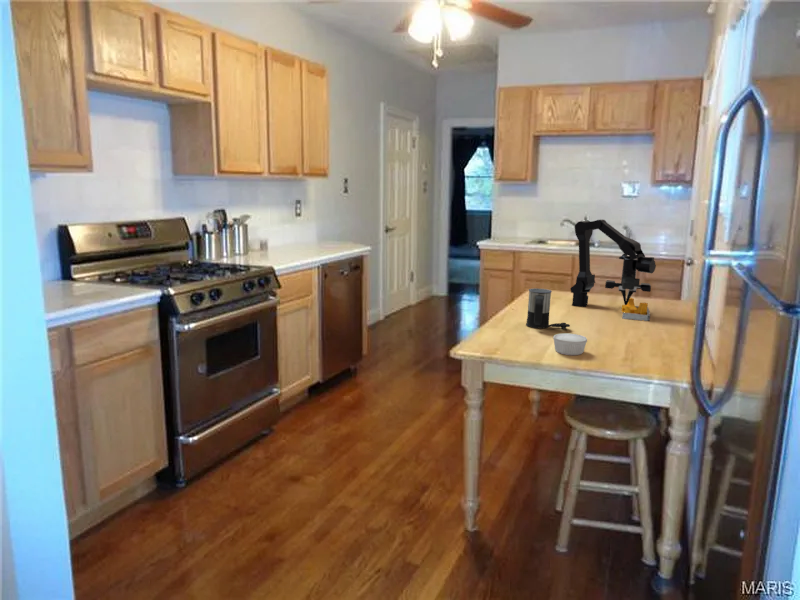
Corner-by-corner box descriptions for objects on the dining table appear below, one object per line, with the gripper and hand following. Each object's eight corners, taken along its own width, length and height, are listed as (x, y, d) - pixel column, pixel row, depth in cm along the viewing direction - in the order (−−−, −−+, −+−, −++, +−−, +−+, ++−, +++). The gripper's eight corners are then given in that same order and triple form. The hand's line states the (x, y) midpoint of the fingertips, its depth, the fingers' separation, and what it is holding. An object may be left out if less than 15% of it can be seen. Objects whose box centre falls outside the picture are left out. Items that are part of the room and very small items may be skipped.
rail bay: (622, 318, 257) (622, 312, 256) (621, 310, 273) (622, 304, 273) (649, 321, 253) (650, 315, 252) (647, 312, 270) (648, 307, 269)
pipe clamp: (621, 311, 270) (622, 298, 269) (629, 311, 271) (631, 297, 270) (637, 318, 259) (639, 303, 257) (646, 317, 260) (647, 303, 258)
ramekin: (548, 347, 211) (549, 332, 210) (578, 347, 212) (579, 332, 211) (558, 356, 200) (559, 341, 199) (590, 356, 201) (592, 341, 200)
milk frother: (523, 323, 245) (525, 287, 242) (560, 323, 246) (563, 288, 243) (533, 332, 231) (535, 294, 228) (572, 332, 232) (575, 295, 229)
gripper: (606, 271, 256) (603, 306, 259) (653, 274, 250) (649, 310, 253) (607, 267, 266) (603, 301, 269) (651, 270, 260) (647, 305, 263)
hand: (625, 304), depth 264 cm, fingers closed
